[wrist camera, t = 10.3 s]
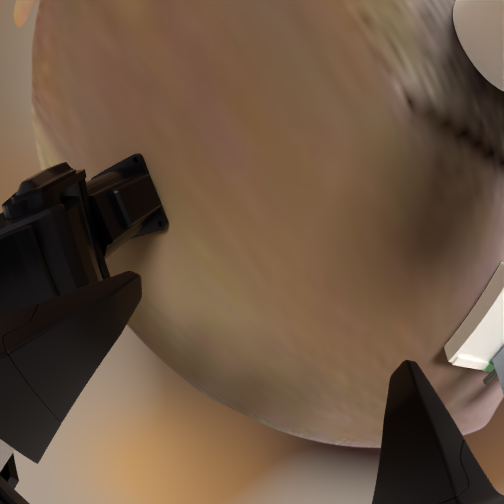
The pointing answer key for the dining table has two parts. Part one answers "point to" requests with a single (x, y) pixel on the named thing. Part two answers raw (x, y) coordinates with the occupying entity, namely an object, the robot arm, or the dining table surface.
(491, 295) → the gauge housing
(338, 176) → the dining table surface
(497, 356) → the grey rounded panel
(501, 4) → the cup
